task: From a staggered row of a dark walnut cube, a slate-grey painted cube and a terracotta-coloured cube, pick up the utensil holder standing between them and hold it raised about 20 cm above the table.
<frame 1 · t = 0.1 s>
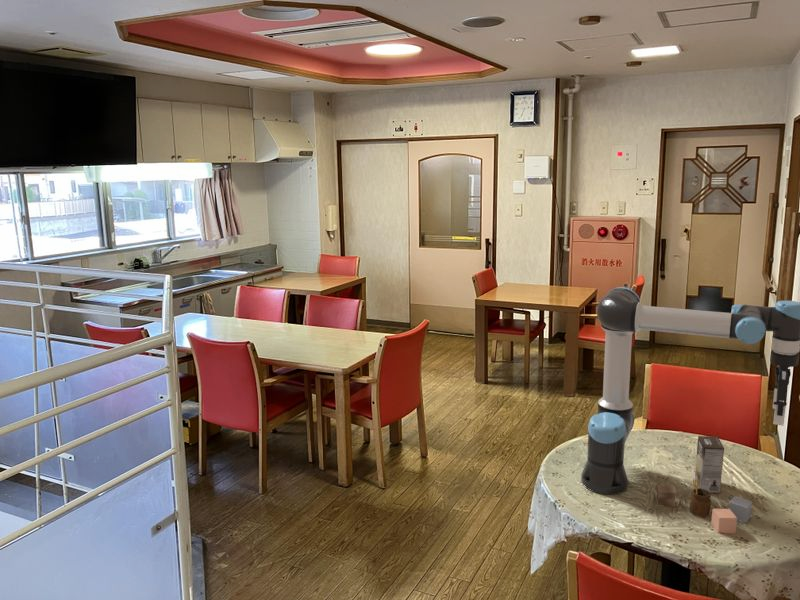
hand: (777, 416, 206), 28 cm above the table, fingers open, 13 cm apart
terracotta block: (723, 528, 196), on the table
utensil holder: (699, 513, 204), on the table
coffee box: (707, 486, 220), on the table
slate block: (739, 516, 202), on the table
walnut block: (665, 502, 211), on the table
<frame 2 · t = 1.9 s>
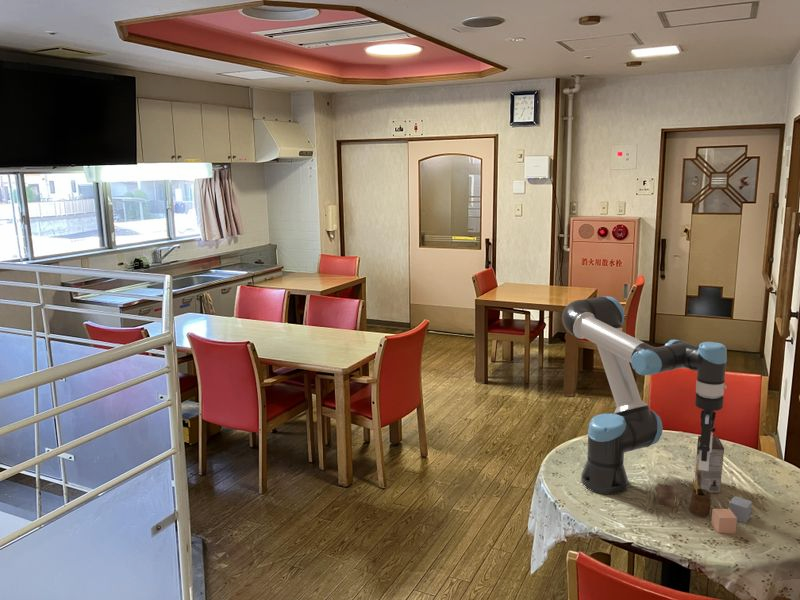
hand: (705, 460, 200), 18 cm above the table, fingers open, 13 cm apart
nothing on the table moved.
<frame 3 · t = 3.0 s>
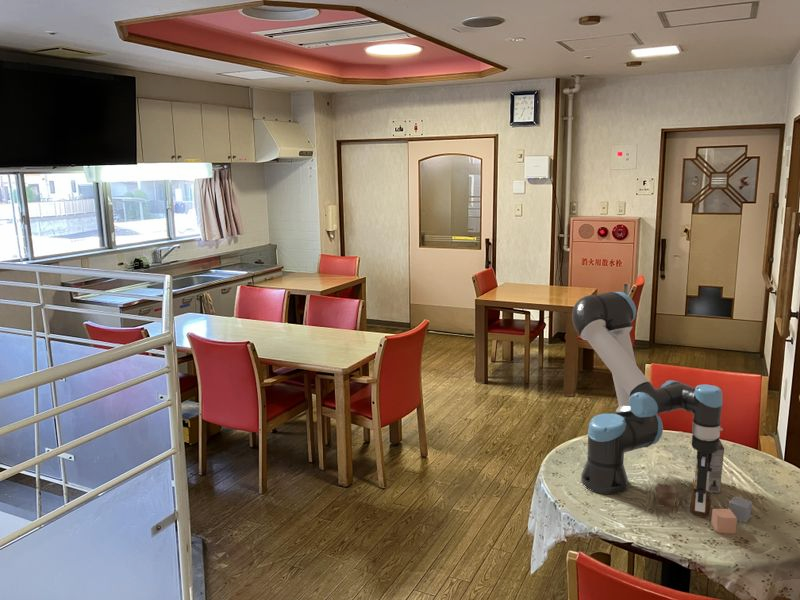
hand: (701, 500, 203), 4 cm above the table, fingers open, 13 cm apart
nothing on the table moved.
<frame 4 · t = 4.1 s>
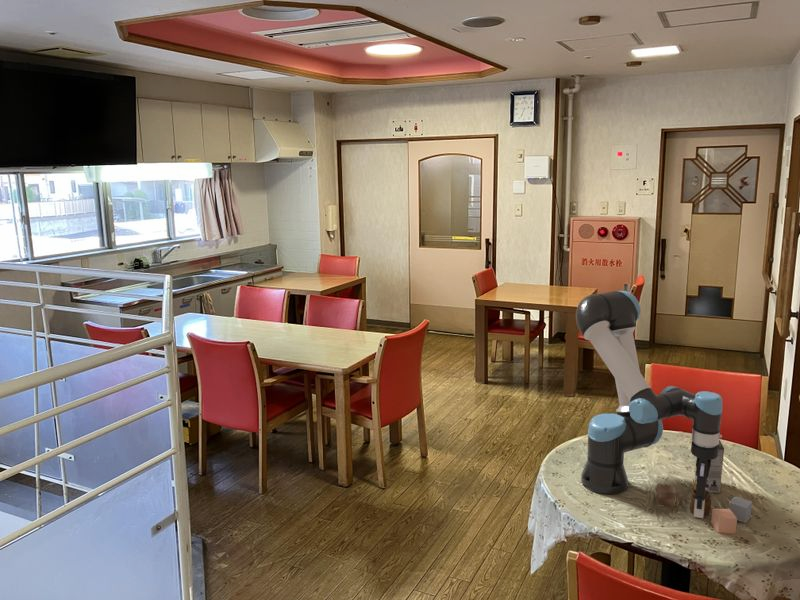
hand: (699, 511, 204), 0 cm above the table, fingers closed on utensil holder, 6 cm apart
utensil holder: (699, 513, 204), on the table, touching gripper
everything else where it was.
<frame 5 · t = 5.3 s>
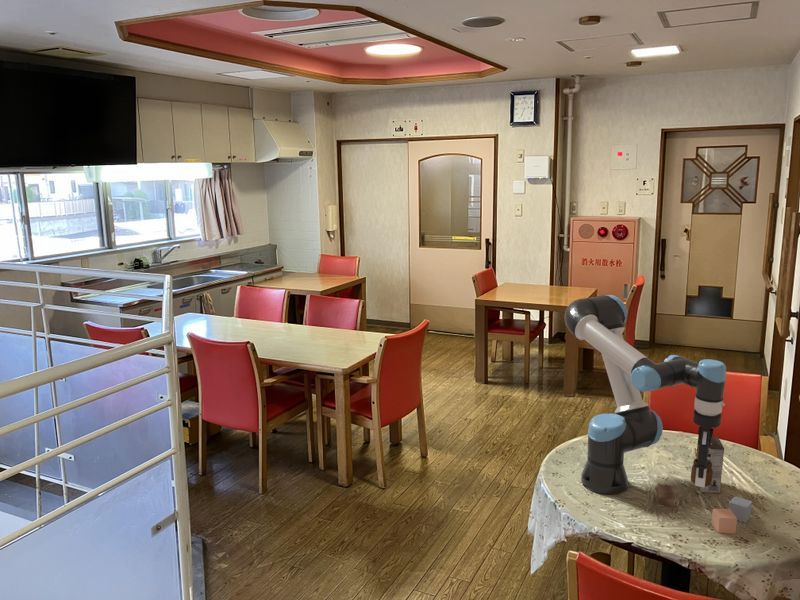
hand: (700, 481, 202), 11 cm above the table, fingers closed on utensil holder, 6 cm apart
utensil holder: (700, 483, 202), point 10 cm above the table, touching gripper
everything else where it was.
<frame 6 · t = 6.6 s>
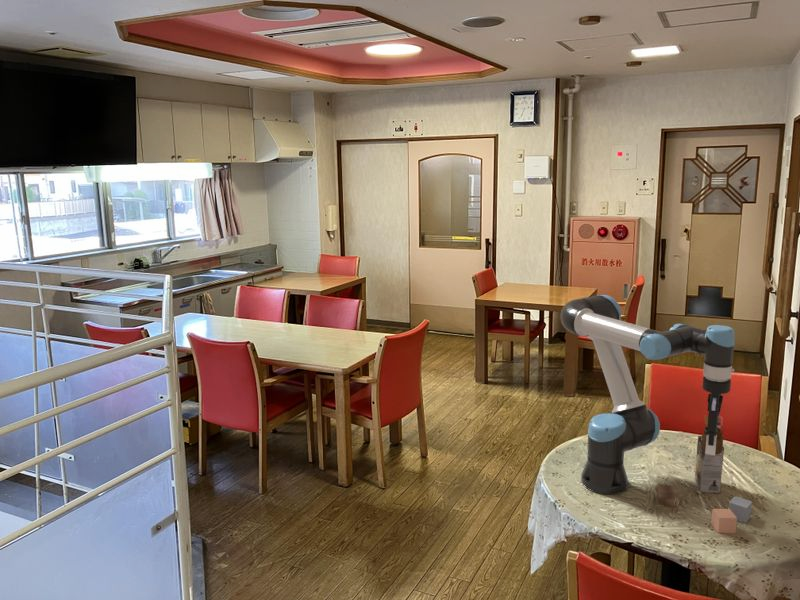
hand: (711, 449, 200), 21 cm above the table, fingers closed on utensil holder, 6 cm apart
utensil holder: (710, 451, 200), point 20 cm above the table, touching gripper
everything else where it was.
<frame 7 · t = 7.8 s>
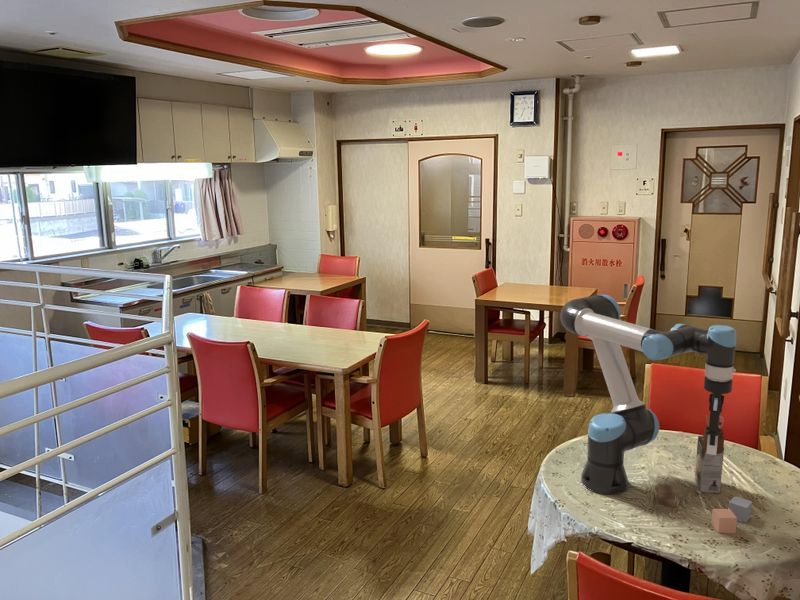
hand: (712, 449, 200), 21 cm above the table, fingers closed on utensil holder, 6 cm apart
utensil holder: (711, 451, 200), point 20 cm above the table, touching gripper
everything else where it was.
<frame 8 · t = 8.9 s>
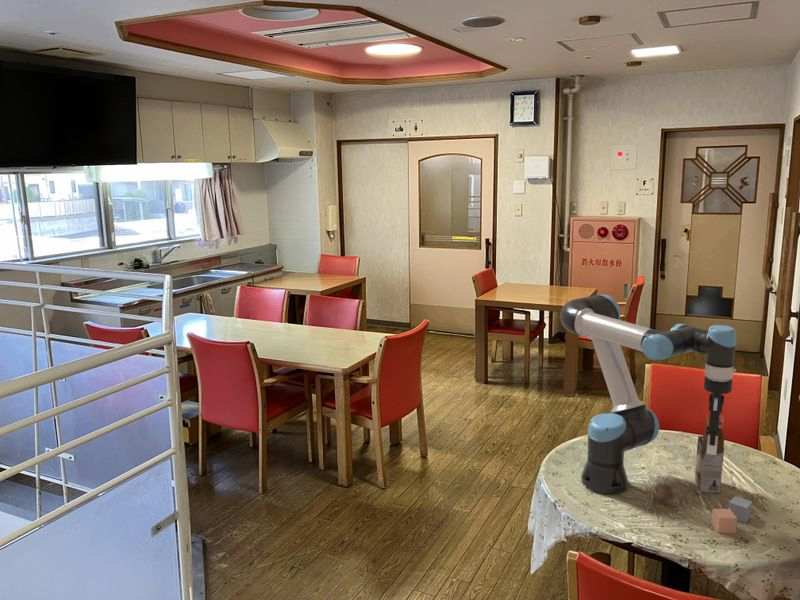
hand: (712, 449, 200), 21 cm above the table, fingers closed on utensil holder, 6 cm apart
utensil holder: (711, 451, 200), point 20 cm above the table, touching gripper
everything else where it was.
at the end: the gripper is holding utensil holder; utensil holder point 20.2 cm above the table; terracotta block moved 0.1 cm from its start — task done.
